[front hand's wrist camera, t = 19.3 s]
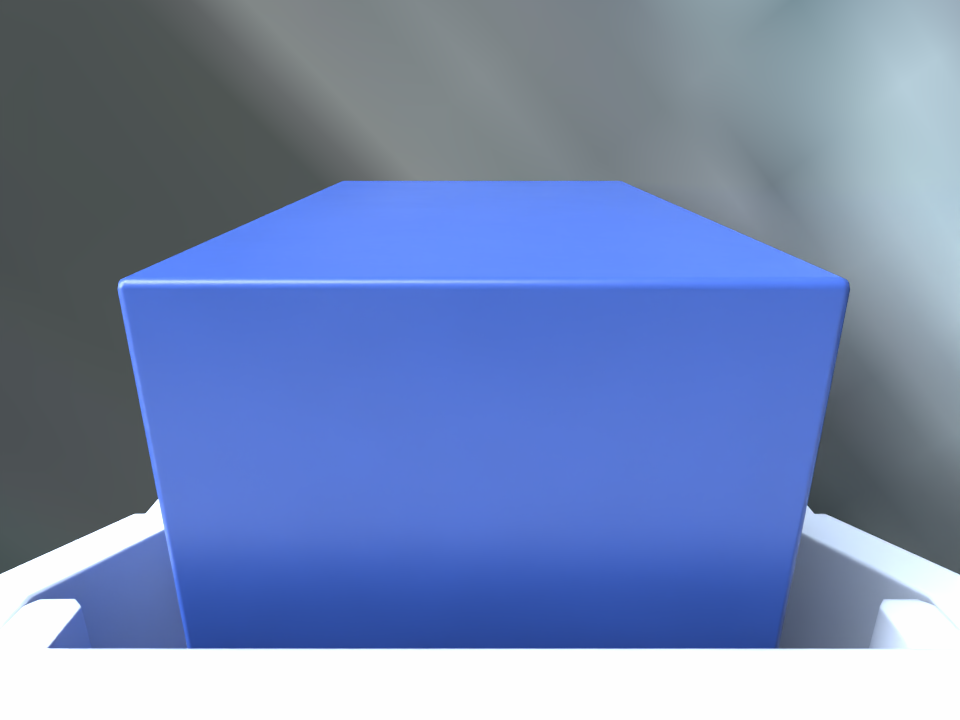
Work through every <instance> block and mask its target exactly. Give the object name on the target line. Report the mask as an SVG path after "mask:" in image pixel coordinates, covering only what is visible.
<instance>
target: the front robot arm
mask: <svg viewBox="0 0 960 720" xmlns="http://www.w3.org/2000/svg"><path fill="white" fill-rule="evenodd" d="M0 720H960V575H959V574H957V573H955V572H953V571H950V570H948V569H946V568H944V567H942V566H939V565H937V564H935V563H933V562H930V561H928V560H926V559H924V558H922V557H919V556H917V555H915V554H913V553H911V552H908V551H906V550H904V549H902V548H899V547H897V546H895V545H893V544H891V543H888V542H886V541H884V540H882V539H880V538H877V537H875V536H873V535H871V534H868V533H866V532H864V531H862V530H860V529H857V528H855V527H853V526H851V525H849V524H846V523H844V522H842V521H840V520H837V519H835V518H833V517H831V516H829V515H826V514H814V513H813V512H812V510H811V509H810V508H809V507H808V506H807V508H806V514H805V519H804V524H803V529H802V534H801V539H800V544H799V549H798V554H797V559H796V564H795V569H794V574H793V579H792V584H791V589H790V594H789V599H788V604H787V609H786V614H785V619H784V624H783V629H782V634H781V640H780V645H779V649H187V644H186V639H185V633H184V628H183V623H182V618H181V613H180V608H179V602H178V597H177V592H176V587H175V582H174V577H173V571H172V566H171V561H170V556H169V551H168V546H167V541H166V535H165V530H164V525H163V520H162V515H161V510H160V504H159V499H158V500H157V501H156V502H155V503H154V505H153V506H152V507H151V508H150V509H149V510H148V512H147V513H146V514H134V515H131V516H129V517H127V518H125V519H123V520H120V521H118V522H116V523H114V524H111V525H109V526H107V527H105V528H103V529H100V530H98V531H96V532H94V533H91V534H89V535H87V536H85V537H83V538H80V539H78V540H76V541H74V542H71V543H69V544H67V545H65V546H63V547H60V548H58V549H56V550H54V551H51V552H49V553H47V554H45V555H43V556H40V557H38V558H36V559H34V560H31V561H29V562H27V563H25V564H23V565H20V566H18V567H16V568H14V569H11V570H9V571H7V572H5V573H3V574H0Z"/></svg>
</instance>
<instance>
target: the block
mask: <svg viewBox="0 0 960 720" xmlns="http://www.w3.org/2000/svg"><path fill="white" fill-rule="evenodd" d="M849 292H850V287H849V282H848V280H846V279H844V278H842V277H839V276H837V275H835V274H832V273H830V272H828V271H826V270H823V269H821V268H819V267H816V266H814V265H812V264H810V263H807V262H805V261H803V260H800V259H798V258H796V257H794V256H791V255H789V254H787V253H784V252H782V251H780V250H777V249H775V248H773V247H771V246H768V245H766V244H764V243H761V242H759V241H757V240H755V239H752V238H750V237H748V236H745V235H743V234H741V233H739V232H736V231H734V230H732V229H729V228H727V227H725V226H723V225H720V224H718V223H716V222H713V221H711V220H709V219H706V218H704V217H702V216H700V215H697V214H695V213H693V212H690V211H688V210H686V209H684V208H681V207H679V206H677V205H674V204H672V203H670V202H668V201H665V200H663V199H661V198H658V197H656V196H654V195H651V194H649V193H647V192H645V191H642V190H640V189H638V188H635V187H633V186H631V185H629V184H626V183H624V182H622V181H342V182H340V183H337V184H335V185H333V186H331V187H328V188H326V189H324V190H322V191H319V192H317V193H315V194H313V195H310V196H308V197H306V198H304V199H301V200H299V201H297V202H295V203H292V204H290V205H288V206H286V207H283V208H281V209H279V210H277V211H274V212H272V213H270V214H267V215H265V216H263V217H261V218H258V219H256V220H254V221H252V222H249V223H247V224H245V225H243V226H240V227H238V228H236V229H234V230H231V231H229V232H227V233H225V234H222V235H220V236H218V237H216V238H213V239H211V240H209V241H207V242H204V243H202V244H200V245H198V246H195V247H193V248H191V249H189V250H186V251H184V252H182V253H180V254H177V255H175V256H173V257H171V258H168V259H166V260H164V261H161V262H159V263H157V264H155V265H152V266H150V267H148V268H146V269H143V270H141V271H139V272H137V273H134V274H132V275H130V276H128V277H125V278H123V279H121V280H120V281H119V285H118V293H119V298H120V303H121V308H122V314H123V319H124V324H125V329H126V334H127V339H128V345H129V350H130V355H131V360H132V365H133V370H134V375H135V381H136V386H137V391H138V396H139V401H140V406H141V412H142V417H143V422H144V427H145V432H146V437H147V443H148V448H149V453H150V458H151V463H152V468H153V473H154V479H155V484H156V489H157V494H158V499H159V504H160V510H161V515H162V520H163V525H164V530H165V535H166V541H167V546H168V551H169V556H170V561H171V566H172V571H173V577H174V582H175V587H176V592H177V597H178V602H179V608H180V613H181V618H182V623H183V628H184V633H185V639H186V644H187V649H779V645H780V640H781V634H782V629H783V624H784V619H785V614H786V609H787V604H788V599H789V594H790V589H791V584H792V579H793V574H794V569H795V564H796V559H797V554H798V549H799V544H800V539H801V534H802V529H803V524H804V519H805V514H806V508H807V503H808V498H809V493H810V488H811V483H812V478H813V473H814V468H815V463H816V458H817V453H818V448H819V443H820V438H821V433H822V428H823V423H824V418H825V413H826V408H827V403H828V398H829V393H830V388H831V382H832V377H833V372H834V367H835V362H836V357H837V352H838V347H839V342H840V337H841V332H842V327H843V322H844V317H845V312H846V307H847V302H848V297H849Z"/></svg>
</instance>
